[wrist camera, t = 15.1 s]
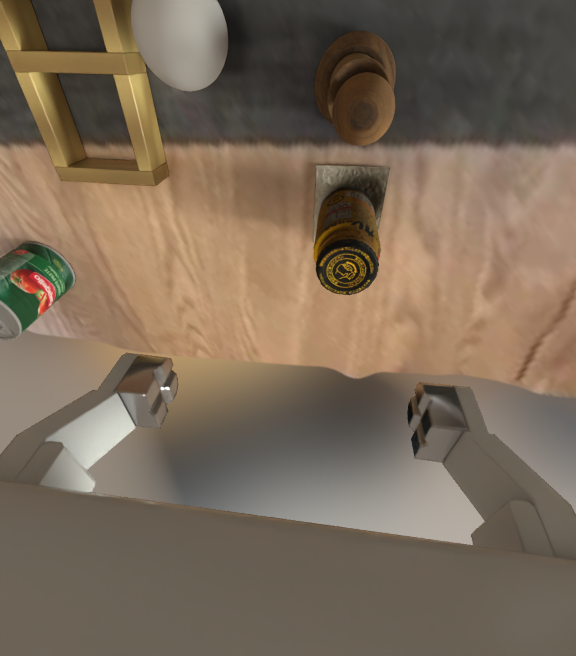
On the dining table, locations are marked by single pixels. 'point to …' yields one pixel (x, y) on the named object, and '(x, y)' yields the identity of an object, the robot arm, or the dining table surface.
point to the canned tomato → (30, 285)
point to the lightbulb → (181, 40)
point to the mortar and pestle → (357, 87)
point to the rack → (120, 59)
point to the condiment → (348, 225)
